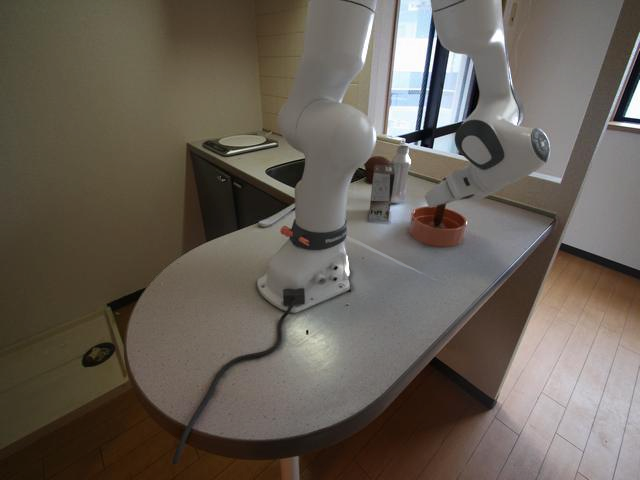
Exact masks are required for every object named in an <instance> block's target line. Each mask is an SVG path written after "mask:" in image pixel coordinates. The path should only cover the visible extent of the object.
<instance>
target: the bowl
mask: <svg viewBox="0 0 640 480" xmlns="http://www.w3.org/2000/svg"><path fill="white" fill-rule="evenodd" d="M435 211H436V207H429V206H428V205H426V206H420V207H417V208H415V209H413V210H412V211H411V213H410V219H409V223H408V234H409V235H410V236H411V238H413V239H414V240H416V241H417V242H419V243H422V244H424V245H428V246H431V247H438V248H449V247H450V248H451V247H455V246H458V245H459V244H460V243H462V241H463V238H464V235H465V232H466V228H467V224H468V220H467V218H466V217H465V216H464V215H463V214H462V213H460V212H457V211H456V210H453V209H450V208H447V207H445V212H444V216H443V220H442V223H443V224H444V225H445V227H444V229H440V228H434V227H430V226H429V223H430V222H432V221H433V220H434V216H435Z"/></svg>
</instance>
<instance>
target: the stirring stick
mask: <svg viewBox="0 0 640 480" xmlns="http://www.w3.org/2000/svg"><path fill="white" fill-rule="evenodd" d="M444 180H446V176H445V177H443V178H442V179H441V182H443V181H444ZM445 208H447V204H442V205H439V206H436V211H435V216H434V220H433V221H432V222H430V223H429V226H430V227H434V228H440V229H444V227H445V225H444V224H443V223H442V220H443V216H444V212H445Z"/></svg>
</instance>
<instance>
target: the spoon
mask: <svg viewBox="0 0 640 480" xmlns="http://www.w3.org/2000/svg"><path fill="white" fill-rule="evenodd" d="M293 209H295V202H293V203H292V204H290V205H289V206H286V208H284V209H282V210H281V211H279V212H277V213H275V214H273V215H272V216H269V217H268V218H265V219H262V220H259V221H258V226H259V227H261V228H267V227H270V226H271V225H273V224H274V223H276V222H277V221H279V220H280V219H281V218H282V217H284V216H285V215H286V214H288V213H289V212H291V211H292V210H293Z"/></svg>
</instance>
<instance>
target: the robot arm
mask: <svg viewBox="0 0 640 480" xmlns="http://www.w3.org/2000/svg"><path fill="white" fill-rule="evenodd" d="M377 3H378V0H308V4H307V11H306V18H305V19H306V20H305V27H304V35H303V42H302V49H301V55H300V58H299V62H298V66H297V70H296V73H295V76H294V79H293V82H292V84H291V88H290V91H289V94H288V97H287V99H286V101H285V102H284V103H283V104H282V106H281V108H280V109H279V111H278V115H277V127H278V130H279V133H280V134H281V136H282V137H283V139H284V140H285V142H286V143H287V144H288V145H289V146H290V148H293V149H294V150H296V151H298V152H300V153H302V154H303V156H304V169H303V173H302V177H301V179H300V180H299V181H298V182H297V183H296V185H295V187H294V203H295V208H294V213H295V214H294V215H295V217H294V220H293V223H292V226H291V228H290V227H289V226H287V225H282V227H281V228H280V231H279V232H280V234H281V235H283V236H285V237H287V238H288V239H287V240H286V241H285V242H284V244H283V245H282V246H281V247H280V248H279V249H278V251H276V253H275V254H274V255H273V256H272V257H271V258H270V259H269V261H268V262H267V263H268V264H267V267H266V272H265V274H263V275H262V276H261V277H259V278H258V279H257V282H256V283H257V284H256V285H257V290H258V292H259V293H260V295H261V296H262V297H263V298H264V299H265V300H266V301H268V302H269V303H270V304H271V305H273V306H274V307H276V308H277V309H280V310H282V311H285V312H283V314H282V315H281V316H280V318H279V321H278V324H277V340H276V342H275V343H274V344H273V345H272V346H271V347H269V348H268V349H265V350H263V351H259V352H254V353H253V352H252V353H248V354H244V355H240V356H237V357H234V358H233V359H231V360H230V361H228V362H227V363H226V364H224V365H223V366H222V367H221V368H220V370H219V371H218V372H217V374H216V375H215V377H214V379H213V380H212V382H211V384H210V387H209V388H208V389H207V392H206V394H205V396H204V398H203V399H202V401H201V403H200V404H199V406H198V407H197V409H196V411H195V412H194V413H193V415H192V417H191V418H190V420H189V421H188V424H187V425H186V426H185V429H184V431H183V432H182V434H181V436H180V439H179V442H178V444H177V447H176V449H175V452H174V456H173V460H172V465H173V466H176V465H177V464H178V463H179V461H180V458H181V454H182V451H183V448H184V446H185V443H186V441H187V438H188V436H189V435H190V432H191V430H192V428H193V426H194V425H195V423H196V421H197V419H198V418H199V416H200V415H201V413H202V411H203V410H204V408H205V406H206V405H207V404H208V402H209V400H210V398H211V396H212V395H213V392H214V390H215V389H216V386H217V384H218V382H219V380H220V378H221V376H222V375H223V374H224V373H225V371H227V370H228V369H229V368H230V367H231V366H232V365H234V364H236V363H239V362H241V361H244V360H249V359H253V358H260V357H264V356H267V355H269V354H271V353H273V352H274V351H276V349H278V348H279V346H280V345H281V343H282V340H283V333H282V332H283V331H282V327H283V322H284V320H285V319H286V318H287V317H288V316H289V314H290V313H293V314H296V313H299V312H302V311H303V310H306V309H309V308H311V307H313V306H315V305H318V304H320V303H323V302H325V301H327V300H329V299H332V298H334V297H337V296H338V295H341V294H343V293H346V292H348V291H350V290H351V282H350V280H349V276H350V268H349V267H350V265H349V260H348V259H349V258H348V255H347V249H346V238H347V234H348V222H347V221H348V220H347V219H346V216H347V204H348V203H347V202H348V192H349V189H350V184H351V182H352V179H353V177H354V174H355V173H356V171H357V170H358V169H359V168H361V167H363V166H364V164H365V163H366V162H367V161H368V159H369V158H371V157H372V154H373V153H374V151H375V147H376V144H377V131H376V126H375V124H374V122H373V121H372V119H371V118H370V117H369V116H367V114H365V113H364V112H362V111H361V110H359V109H358V108H356V107H354V106H353V105H351V104H347V103H344V102H343V100H344V96H345V95H346V92H347V90H348V88H349V86H350V84H351V83H352V82H353V80H354V79H355V78H356V77H357V75H359V74H360V72H362V70H363V68H364V66H365V64H366V59H367V54H368V49H369V44H370V41H371V34H372V29H373V26H374V25H373V24H374V21H375V14H376V10H377V5H378V4H377ZM502 3H503V1H502V0H430V7H431V13H432V18H433V24H434V29H435V32H436V36H437V38H438V40H439V42H440V45H441V46H442V47H443V48H444V49H446V50H447V51H449V52H451V53H453V54H457V55H465V56H467V57H469V58H470V60H471V61H472V63H473V67H474V71H475V72H474V73H475V76H476V77H475V78H476V82H477V86H478V90H479V91H478V92H479V99H478V103H477V105H476V107H475V109H474V110H473V111H472V112H471V113H470V114H469V115H468V117H466V118H465V119H464V121H463V122H462V123H461V124H460V125H459V126H458V127H457V128H456V130H455V133H454V144H455V147H456V149H457V151H458V152H459V154H461V156H462V157H464V158H465V159H466V160H467V161H468V162H470V164H468V165H466V166H464V167H462V168H460V169H458V170H455V171H453V172H450V173H449V174H447V175H446V176H445V177H446V180H444V181H443V182H442V181H440V182H439V183H437V185H435V186H433V188H431V189H430V190H428V191H427V192H426V193H425V195H424V199H425V202H426V204H427V206H429V207H436V206H439V205H442V204H446V205H447V204H450V203H453V202H457V201H461V200H462V201H463V200H468V199H469V200H470V199H471V200H473V199H475V200H483V199H485V198H487V197H489V196H491V195H493V194H495V193H497V192H499V191H501V190H502V189H503V188H504V187H506V186H508V185H510V184H515V183H517V182H519V181H521V180H522V179H524V178H526V177H529V176H530V175H532V174H533V173H535V172H537V171H538V170H540V169H541V168H542V167H543V166H545V165H546V163H547V162H548V160H549V158H550V155H551V144H550V140H549V138H548V136H547V135H546V133H545V132H544V130H542V129H540V128H538V127H526V126H522V125H520V124H521V123H522V121H523V119H524V115H525V114H524V112H525V110H524V104H523V102H522V100H521V98H520V97H519V95H518V93H517V92H516V90H515V88H514V85H513V81H512V75H511V68H510V61H509V53H508V47H507V40H506V34H505V29H504V20H503V5H502Z"/></svg>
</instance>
